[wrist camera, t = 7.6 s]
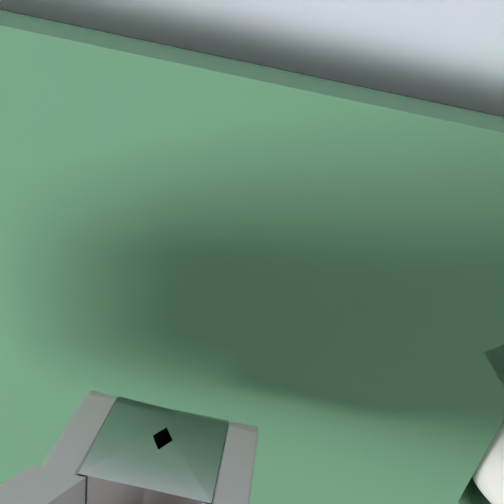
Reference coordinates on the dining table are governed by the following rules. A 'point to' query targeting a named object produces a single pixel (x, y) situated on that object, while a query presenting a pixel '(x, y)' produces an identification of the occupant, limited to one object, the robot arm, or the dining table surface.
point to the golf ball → (492, 470)
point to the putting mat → (250, 262)
